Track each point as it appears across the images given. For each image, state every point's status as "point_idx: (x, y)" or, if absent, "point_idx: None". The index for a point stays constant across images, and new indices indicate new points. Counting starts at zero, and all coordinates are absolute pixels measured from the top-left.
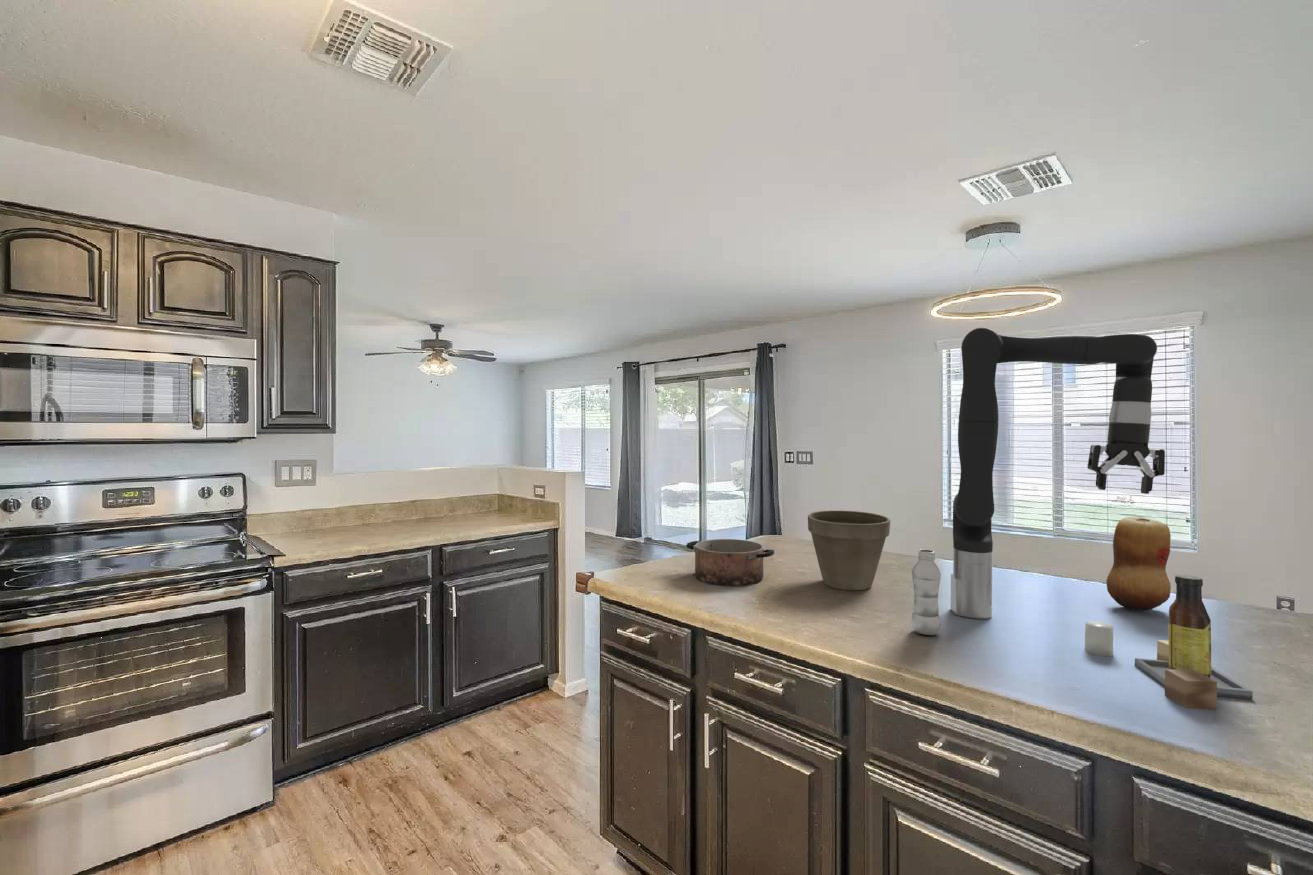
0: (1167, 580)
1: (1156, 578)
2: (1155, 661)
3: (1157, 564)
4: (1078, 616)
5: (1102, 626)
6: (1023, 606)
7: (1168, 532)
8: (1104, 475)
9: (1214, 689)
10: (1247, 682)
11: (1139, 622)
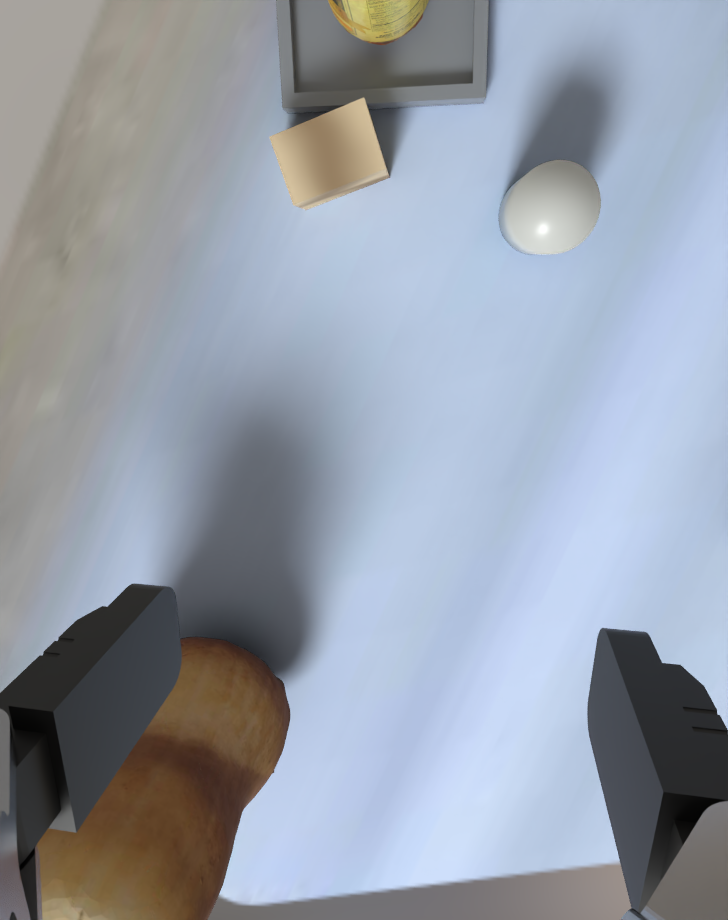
0: None
1: None
2: (431, 86)
3: None
4: (433, 571)
5: (551, 191)
6: (567, 640)
7: None
8: (694, 778)
9: None
10: (215, 44)
11: (272, 550)
